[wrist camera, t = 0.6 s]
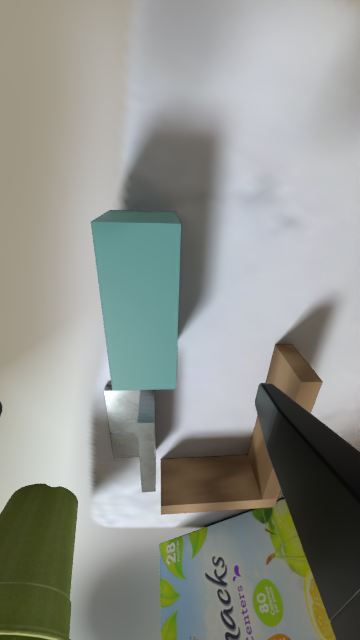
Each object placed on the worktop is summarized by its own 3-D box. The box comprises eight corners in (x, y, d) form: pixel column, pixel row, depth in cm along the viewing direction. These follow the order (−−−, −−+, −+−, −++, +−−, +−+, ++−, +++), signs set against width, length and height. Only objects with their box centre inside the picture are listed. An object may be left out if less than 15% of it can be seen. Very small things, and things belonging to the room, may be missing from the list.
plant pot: (60, 534, 34) (19, 682, 24) (-31, 503, 29) (-128, 671, 19) (121, 495, 30) (103, 648, 20) (30, 453, 26) (-50, 625, 16)
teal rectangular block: (175, 211, 16) (181, 223, 12) (172, 344, 21) (175, 389, 16) (110, 210, 16) (90, 221, 11) (122, 345, 21) (112, 390, 16)
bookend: (154, 384, 22) (153, 422, 19) (155, 450, 27) (155, 491, 23) (105, 386, 22) (95, 424, 19) (114, 452, 26) (107, 494, 23)
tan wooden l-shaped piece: (292, 344, 21) (322, 381, 17) (258, 462, 29) (274, 507, 25) (160, 346, 21) (160, 385, 17) (160, 467, 28) (161, 514, 24)
